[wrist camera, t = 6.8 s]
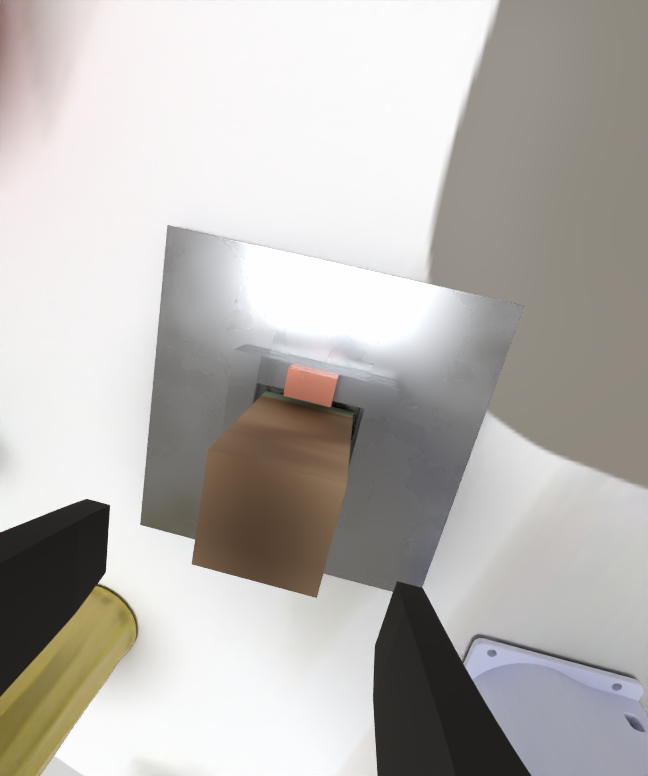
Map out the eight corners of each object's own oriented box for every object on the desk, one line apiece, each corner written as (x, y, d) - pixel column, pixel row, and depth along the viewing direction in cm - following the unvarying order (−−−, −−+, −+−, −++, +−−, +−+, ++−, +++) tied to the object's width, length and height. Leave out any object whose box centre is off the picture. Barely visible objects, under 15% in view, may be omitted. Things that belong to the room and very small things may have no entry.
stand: (516, 304, 16) (557, 308, 13) (415, 586, 21) (426, 644, 17) (176, 228, 17) (130, 212, 14) (148, 516, 21) (107, 558, 18)
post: (353, 411, 16) (347, 484, 10) (333, 489, 17) (316, 597, 11) (266, 390, 16) (208, 449, 10) (252, 468, 17) (192, 564, 11)
